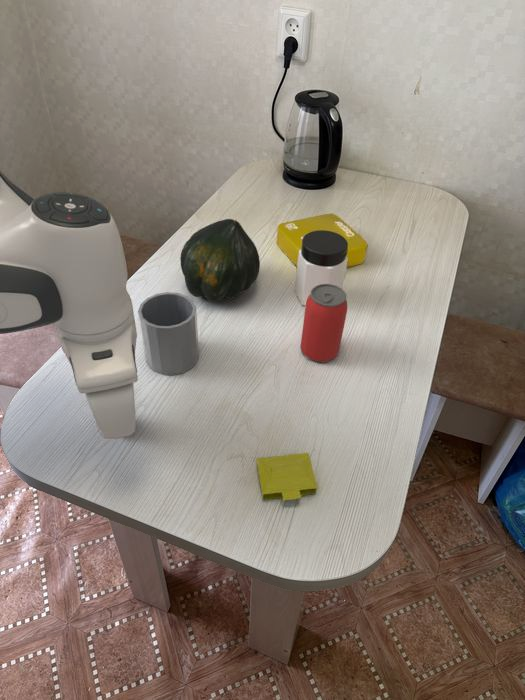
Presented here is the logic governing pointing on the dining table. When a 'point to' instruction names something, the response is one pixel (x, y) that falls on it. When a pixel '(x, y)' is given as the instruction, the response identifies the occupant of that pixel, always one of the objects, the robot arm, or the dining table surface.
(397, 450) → the dining table surface
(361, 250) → the yellow box
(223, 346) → the dining table surface
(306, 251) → the jar
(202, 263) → the squash
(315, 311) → the beer can
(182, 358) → the steel cup
